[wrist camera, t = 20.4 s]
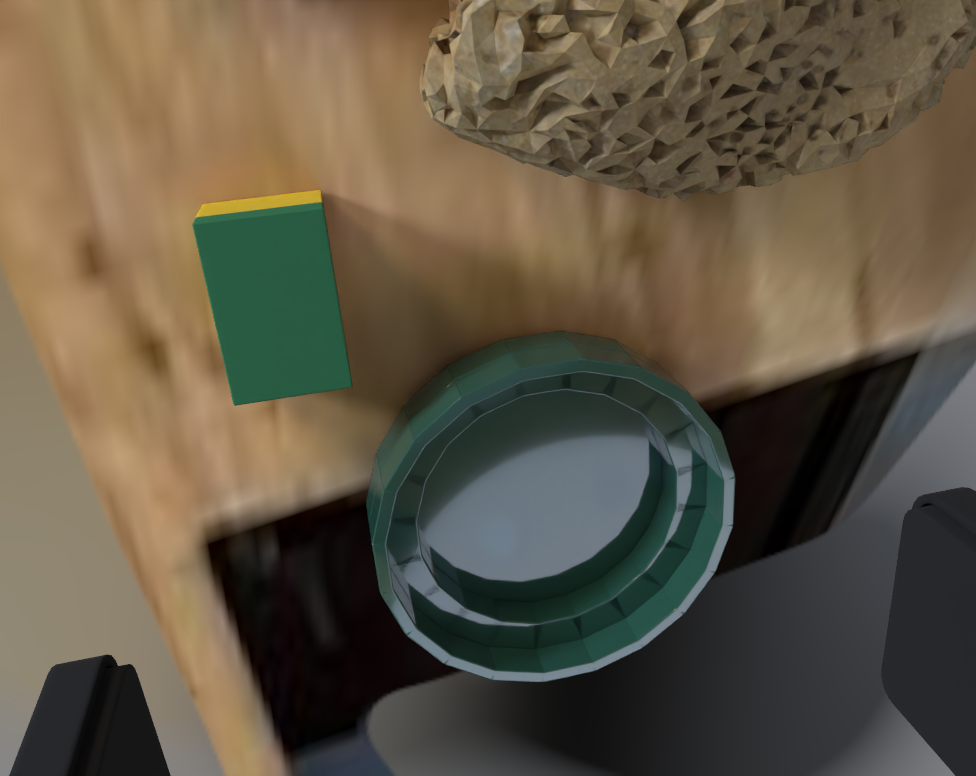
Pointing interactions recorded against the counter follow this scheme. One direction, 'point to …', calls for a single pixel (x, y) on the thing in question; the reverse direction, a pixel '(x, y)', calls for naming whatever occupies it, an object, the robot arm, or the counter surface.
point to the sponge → (690, 83)
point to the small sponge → (273, 295)
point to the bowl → (547, 507)
